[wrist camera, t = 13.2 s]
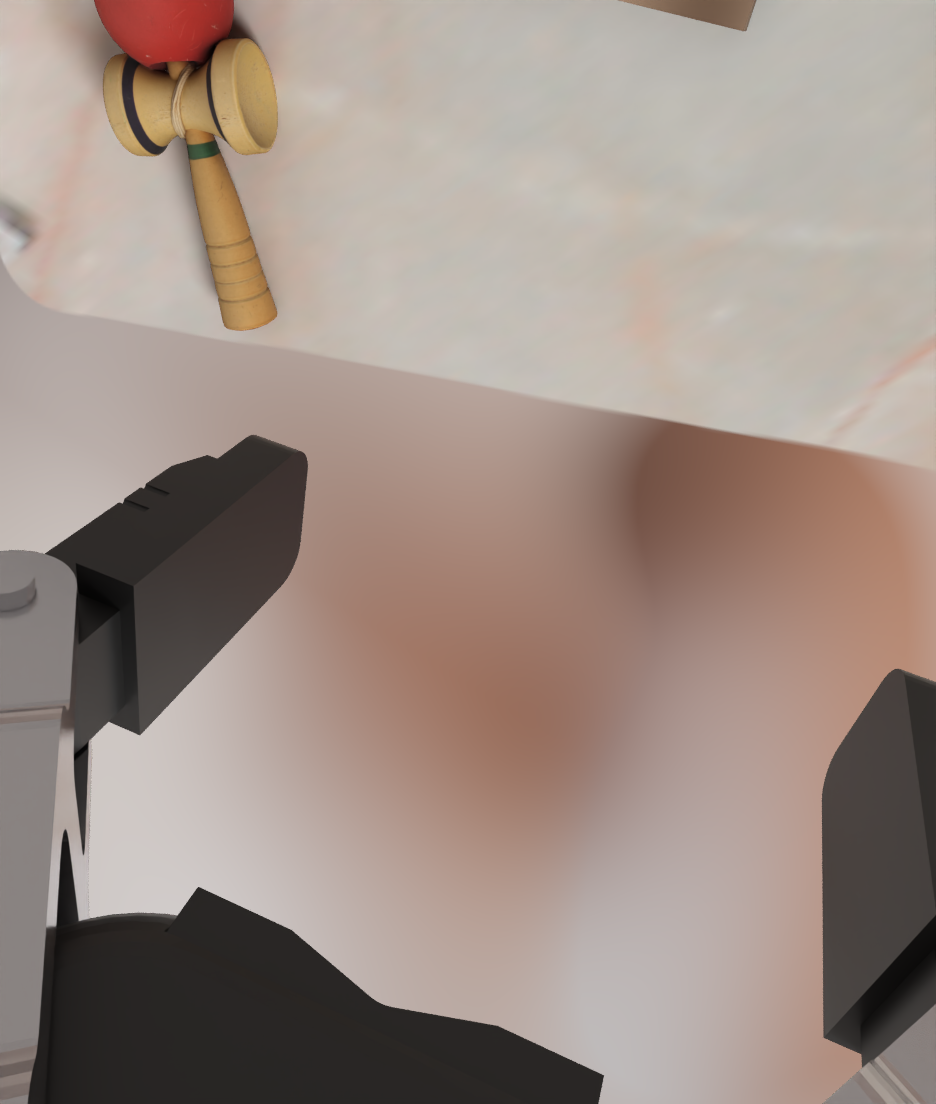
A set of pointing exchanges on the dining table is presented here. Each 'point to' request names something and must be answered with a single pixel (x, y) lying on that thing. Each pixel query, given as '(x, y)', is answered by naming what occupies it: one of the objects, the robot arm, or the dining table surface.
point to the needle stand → (706, 10)
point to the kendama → (197, 122)
